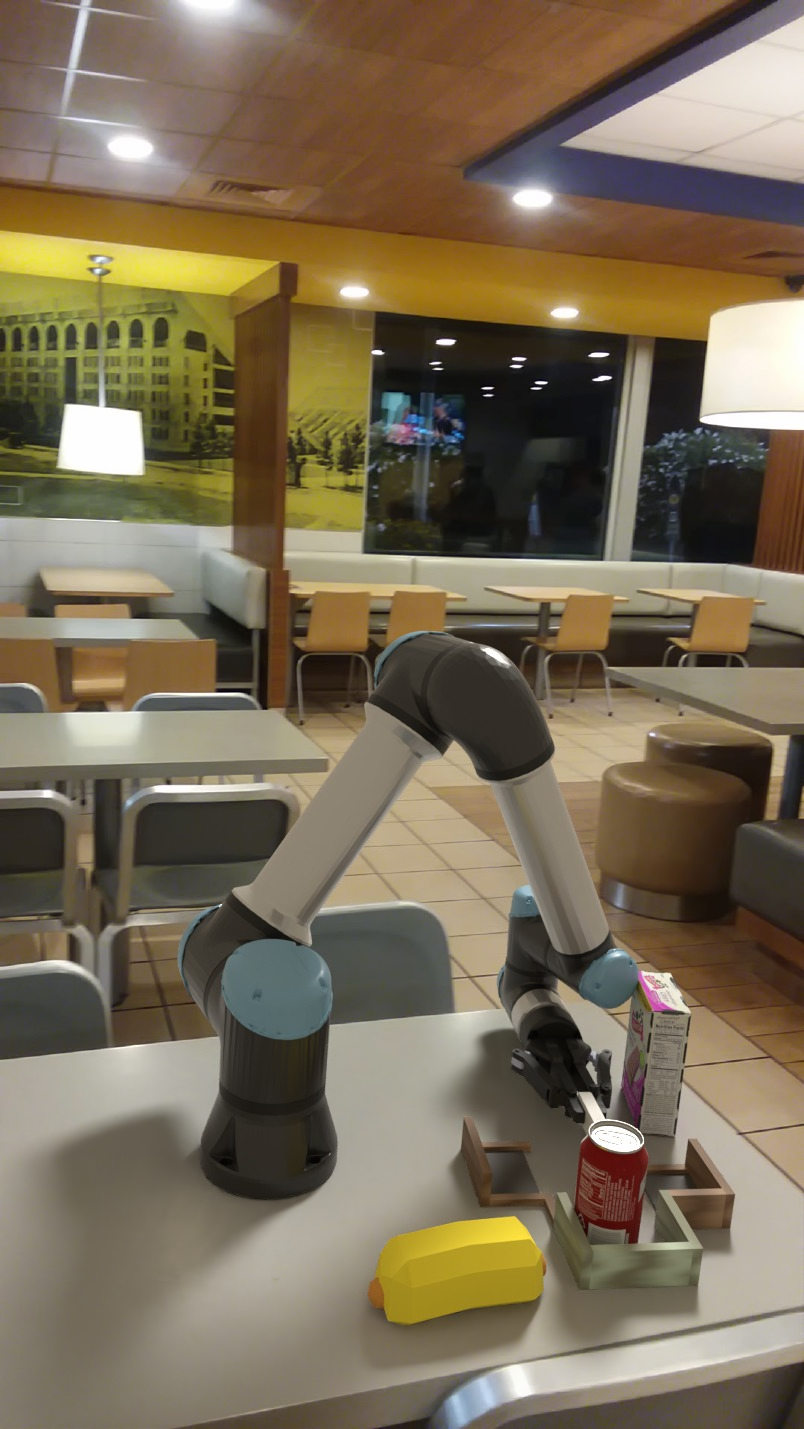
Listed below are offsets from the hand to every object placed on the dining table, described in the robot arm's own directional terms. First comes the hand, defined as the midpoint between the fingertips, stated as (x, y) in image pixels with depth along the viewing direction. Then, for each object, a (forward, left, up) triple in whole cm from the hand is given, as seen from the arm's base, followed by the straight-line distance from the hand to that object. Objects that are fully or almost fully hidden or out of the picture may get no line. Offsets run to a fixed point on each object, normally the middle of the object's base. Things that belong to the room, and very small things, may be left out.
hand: (600, 1135), depth 117 cm
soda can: (-2, -9, -6) cm, 11 cm away
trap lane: (0, -4, -6) cm, 7 cm away
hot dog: (-18, -15, -7) cm, 25 cm away
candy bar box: (+12, +15, -6) cm, 20 cm away
